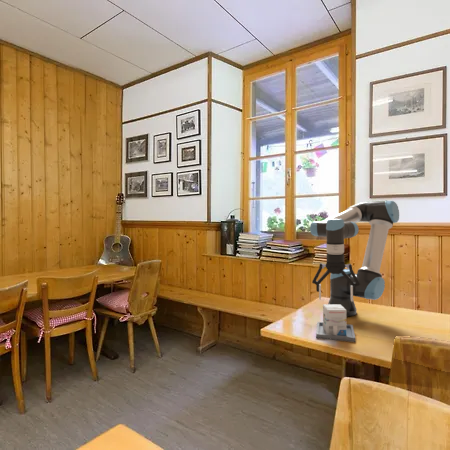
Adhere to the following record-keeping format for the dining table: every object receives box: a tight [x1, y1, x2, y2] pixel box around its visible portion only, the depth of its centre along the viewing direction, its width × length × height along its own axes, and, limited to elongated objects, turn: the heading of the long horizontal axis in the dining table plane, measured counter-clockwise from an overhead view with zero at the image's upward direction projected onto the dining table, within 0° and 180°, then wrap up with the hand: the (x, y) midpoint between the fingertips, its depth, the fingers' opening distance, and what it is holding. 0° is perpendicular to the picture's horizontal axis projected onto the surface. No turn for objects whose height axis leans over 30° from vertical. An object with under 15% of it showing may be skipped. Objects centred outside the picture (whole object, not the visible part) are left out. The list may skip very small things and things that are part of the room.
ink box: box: [322, 303, 347, 335], centre depth 146 cm, size 8×8×12 cm
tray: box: [315, 321, 356, 343], centre depth 146 cm, size 16×16×6 cm
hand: (335, 299), depth 146 cm, fingers open, 13 cm apart
